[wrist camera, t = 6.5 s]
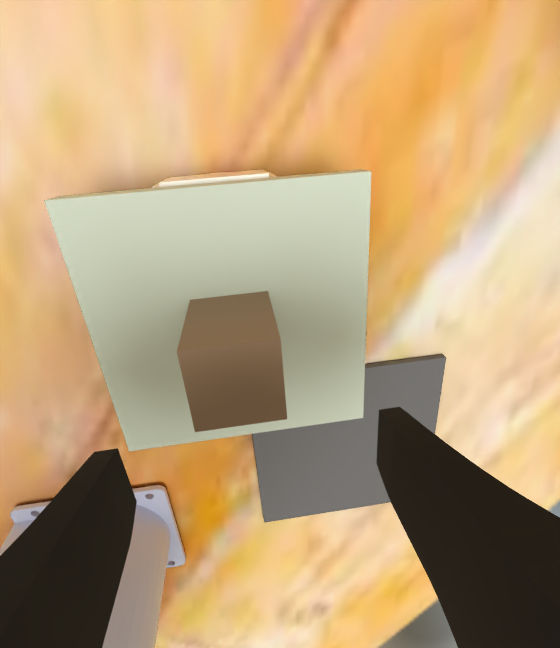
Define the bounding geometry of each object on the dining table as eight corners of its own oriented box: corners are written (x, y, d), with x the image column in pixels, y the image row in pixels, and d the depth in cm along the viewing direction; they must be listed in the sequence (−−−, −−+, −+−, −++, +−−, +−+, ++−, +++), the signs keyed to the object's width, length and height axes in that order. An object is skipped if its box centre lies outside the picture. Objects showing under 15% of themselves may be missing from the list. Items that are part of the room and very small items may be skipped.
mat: (263, 517, 27) (264, 522, 26) (245, 379, 21) (245, 383, 21) (423, 492, 28) (425, 496, 27) (442, 354, 22) (446, 357, 22)
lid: (135, 433, 18) (102, 533, 13) (59, 195, 13) (-34, 222, 8) (355, 402, 19) (397, 486, 14) (360, 169, 14) (425, 180, 9)
